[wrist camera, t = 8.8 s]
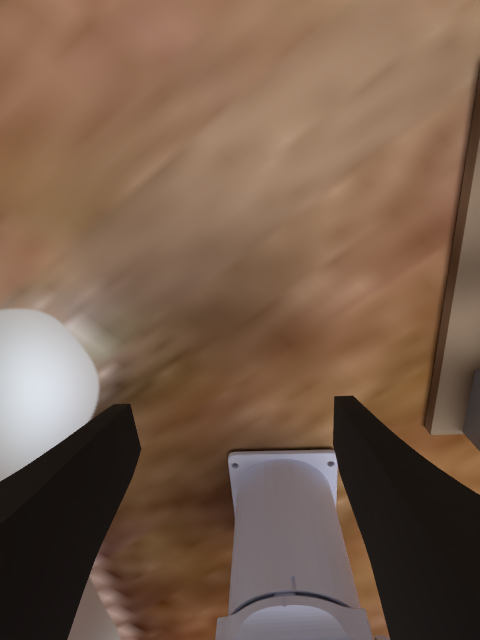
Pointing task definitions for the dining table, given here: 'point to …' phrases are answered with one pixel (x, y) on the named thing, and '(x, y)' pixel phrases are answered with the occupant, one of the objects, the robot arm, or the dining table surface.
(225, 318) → the dining table surface
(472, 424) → the end caps
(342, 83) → the dining table surface
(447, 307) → the base board
